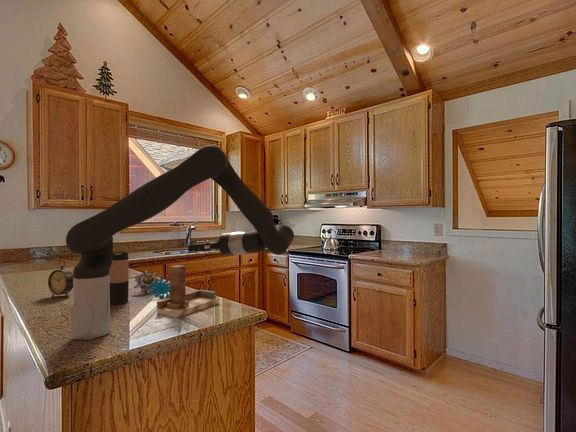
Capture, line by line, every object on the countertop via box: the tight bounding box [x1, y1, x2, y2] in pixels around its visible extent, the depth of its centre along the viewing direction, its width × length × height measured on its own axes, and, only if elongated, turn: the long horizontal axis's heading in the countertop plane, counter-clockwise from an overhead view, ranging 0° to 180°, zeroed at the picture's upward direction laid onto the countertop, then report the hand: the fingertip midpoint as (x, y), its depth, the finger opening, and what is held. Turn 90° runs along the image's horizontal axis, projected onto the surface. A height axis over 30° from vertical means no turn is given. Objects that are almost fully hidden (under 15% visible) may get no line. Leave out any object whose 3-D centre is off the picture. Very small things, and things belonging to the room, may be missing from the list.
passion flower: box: [133, 269, 161, 295], centre depth 149 cm, size 11×11×12 cm
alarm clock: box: [47, 259, 73, 298], centre depth 141 cm, size 11×5×16 cm, turn 73°
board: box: [156, 289, 220, 319], centre depth 120 cm, size 21×10×4 cm, turn 150°
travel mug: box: [110, 251, 130, 306], centre depth 130 cm, size 8×8×20 cm
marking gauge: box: [167, 264, 189, 310], centre depth 115 cm, size 6×6×15 cm
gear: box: [150, 277, 170, 299], centre depth 140 cm, size 11×6×10 cm
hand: (196, 246), depth 113 cm, fingers open, 8 cm apart
